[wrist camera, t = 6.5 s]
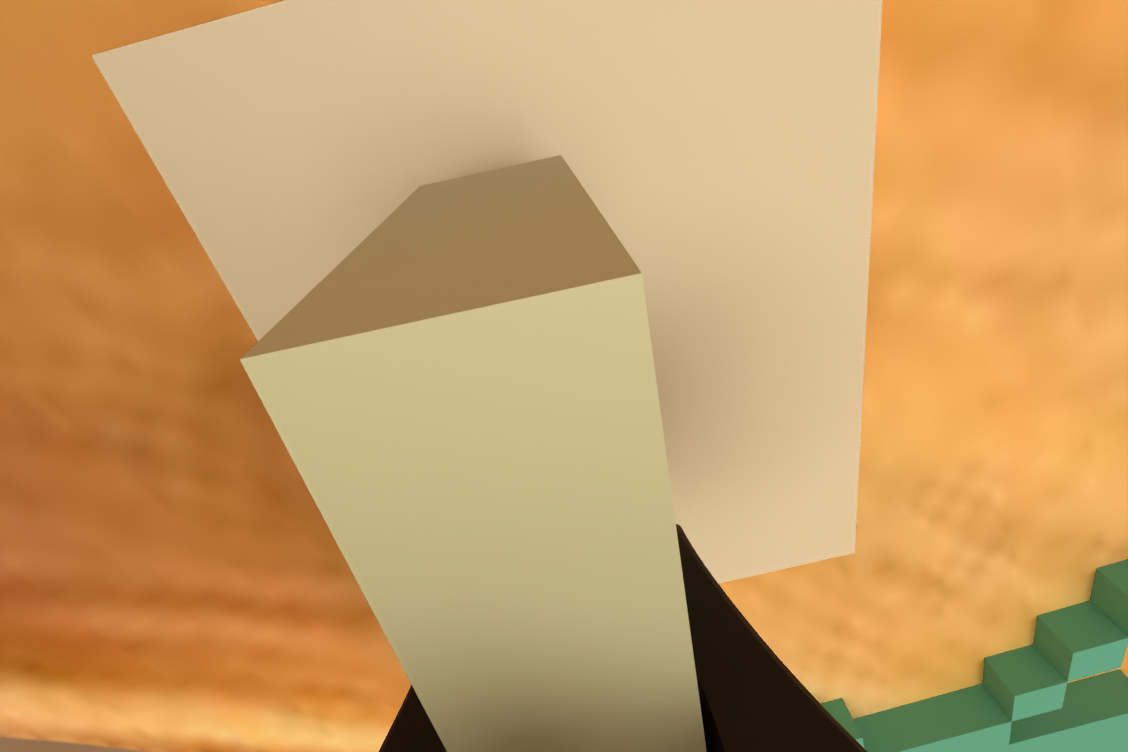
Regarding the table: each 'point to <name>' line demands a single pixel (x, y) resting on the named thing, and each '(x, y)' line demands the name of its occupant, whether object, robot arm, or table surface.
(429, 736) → the robot arm
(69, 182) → the table surface
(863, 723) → the alien figure
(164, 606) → the table surface
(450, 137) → the rubber mat
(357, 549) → the sage board
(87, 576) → the table surface
